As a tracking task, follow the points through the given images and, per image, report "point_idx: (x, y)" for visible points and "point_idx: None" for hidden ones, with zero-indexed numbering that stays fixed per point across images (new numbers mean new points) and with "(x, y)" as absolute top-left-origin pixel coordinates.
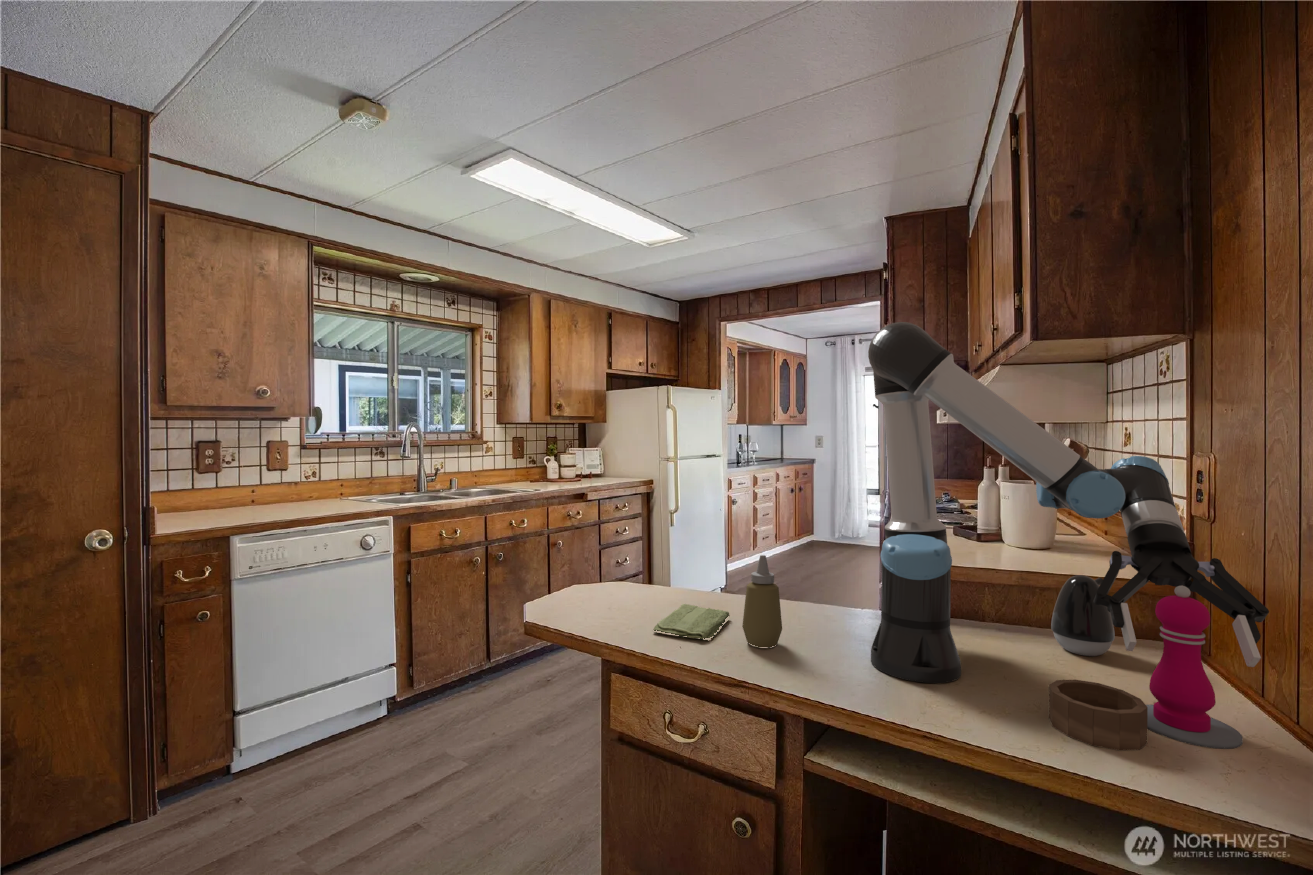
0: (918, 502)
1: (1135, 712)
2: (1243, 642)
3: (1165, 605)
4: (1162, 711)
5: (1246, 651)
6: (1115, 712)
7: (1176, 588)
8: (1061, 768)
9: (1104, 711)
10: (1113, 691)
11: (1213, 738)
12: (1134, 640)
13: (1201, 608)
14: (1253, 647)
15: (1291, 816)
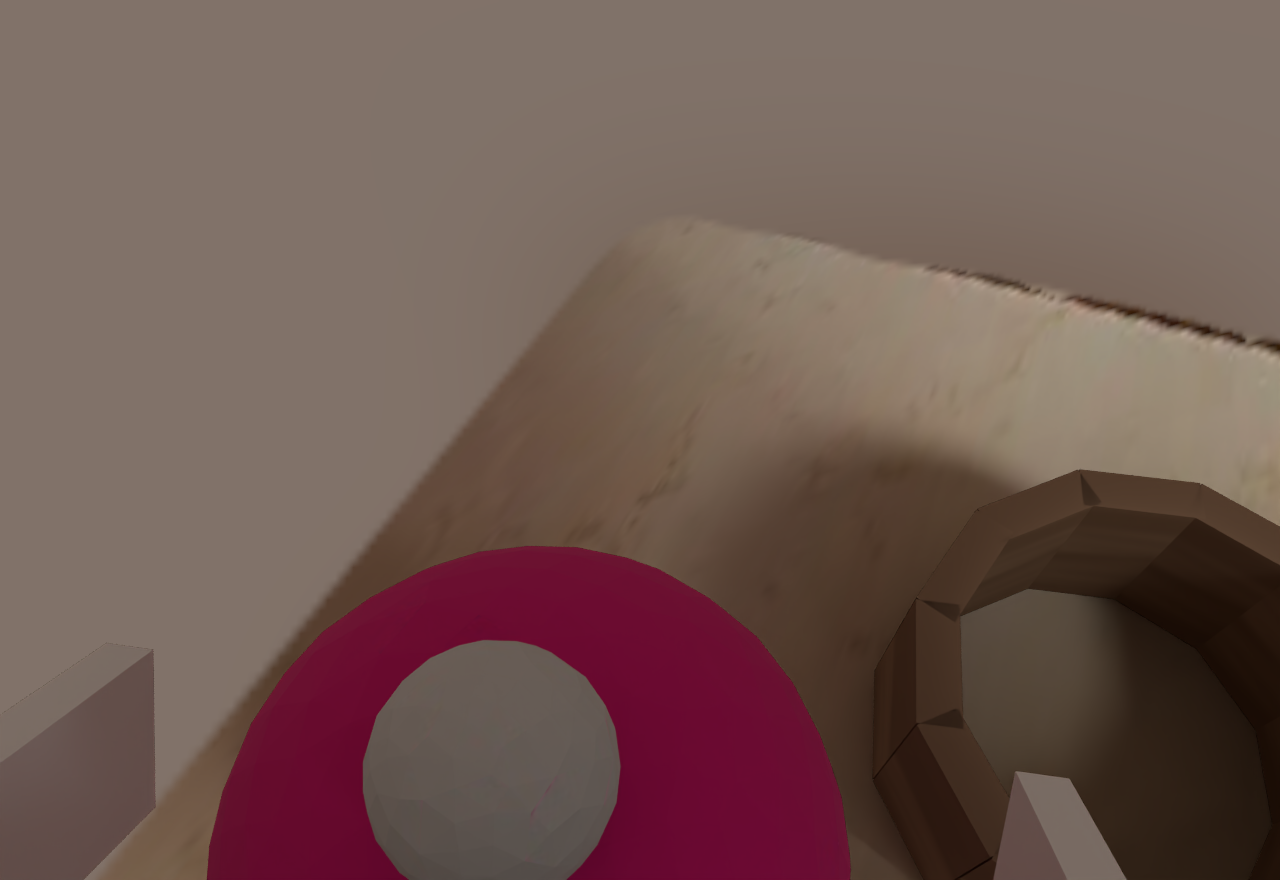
0: None
1: (1000, 503)
2: (28, 838)
3: (800, 710)
4: None
5: (92, 786)
6: (1098, 475)
7: (597, 741)
8: (1249, 349)
9: (1147, 477)
10: None
11: None
12: (1034, 785)
13: (404, 584)
14: (70, 688)
15: (609, 280)
